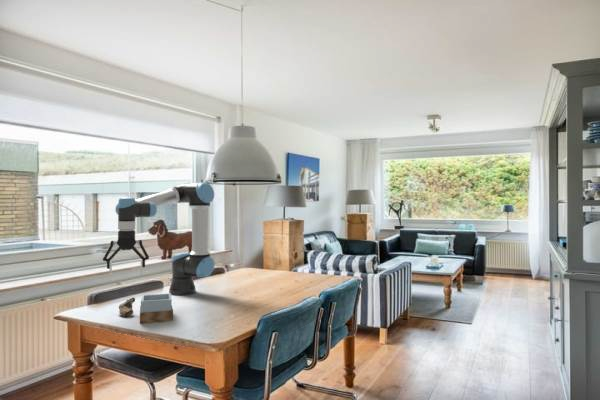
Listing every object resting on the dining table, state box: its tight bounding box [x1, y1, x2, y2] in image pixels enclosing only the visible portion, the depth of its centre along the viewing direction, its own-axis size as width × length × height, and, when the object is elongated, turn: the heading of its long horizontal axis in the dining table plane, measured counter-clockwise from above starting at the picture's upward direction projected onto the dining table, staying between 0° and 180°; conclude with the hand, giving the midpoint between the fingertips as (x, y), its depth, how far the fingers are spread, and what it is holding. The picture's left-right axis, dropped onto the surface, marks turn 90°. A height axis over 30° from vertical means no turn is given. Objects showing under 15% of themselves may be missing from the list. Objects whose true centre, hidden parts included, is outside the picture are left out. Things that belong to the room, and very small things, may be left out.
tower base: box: [139, 305, 174, 325], centre depth 193 cm, size 14×14×5 cm
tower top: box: [140, 293, 173, 313], centre depth 193 cm, size 13×13×5 cm
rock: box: [118, 297, 136, 318], centre depth 199 cm, size 9×7×10 cm
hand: (126, 274), depth 199 cm, fingers open, 13 cm apart
